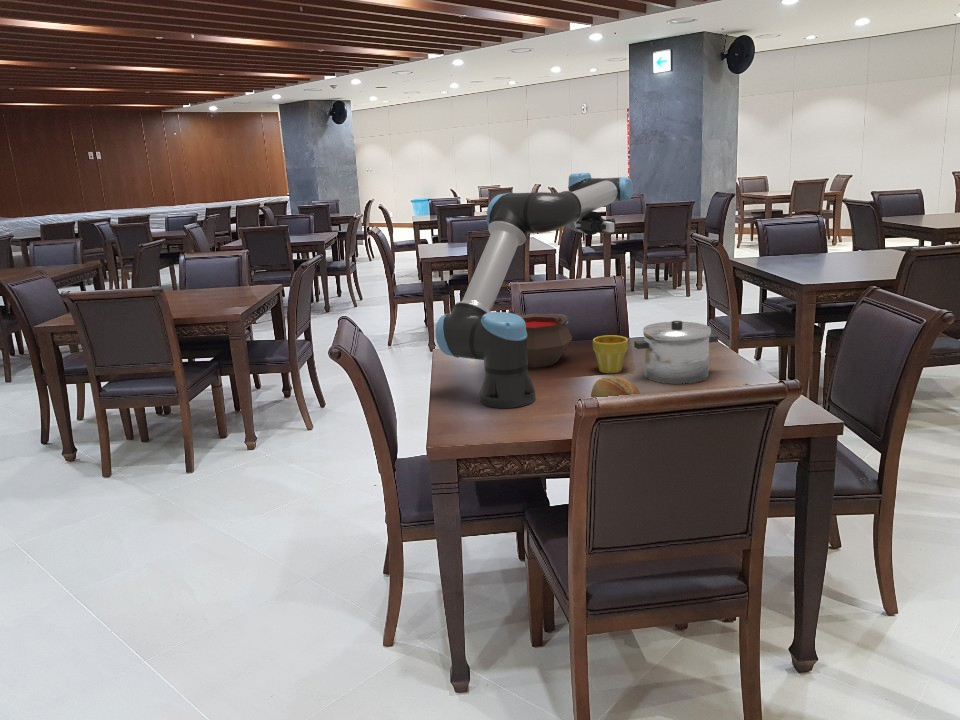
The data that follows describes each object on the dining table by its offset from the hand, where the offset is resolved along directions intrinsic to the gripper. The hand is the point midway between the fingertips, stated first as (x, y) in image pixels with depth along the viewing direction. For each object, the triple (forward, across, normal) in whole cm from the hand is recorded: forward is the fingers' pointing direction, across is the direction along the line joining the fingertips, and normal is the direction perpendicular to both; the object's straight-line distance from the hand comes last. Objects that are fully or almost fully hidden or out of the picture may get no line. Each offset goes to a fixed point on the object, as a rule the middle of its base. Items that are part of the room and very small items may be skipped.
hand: (611, 227), depth 216 cm
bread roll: (+39, +13, -42) cm, 59 cm away
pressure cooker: (+16, -13, -42) cm, 47 cm away
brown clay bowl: (-12, +22, -42) cm, 49 cm away
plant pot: (+6, +3, -42) cm, 43 cm away
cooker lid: (+18, -13, -30) cm, 37 cm away
